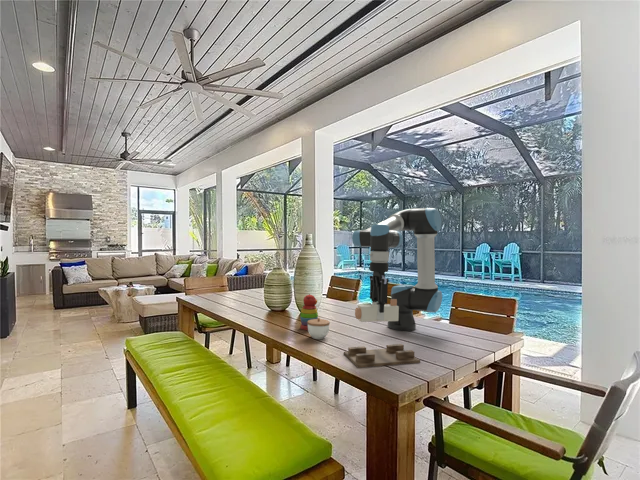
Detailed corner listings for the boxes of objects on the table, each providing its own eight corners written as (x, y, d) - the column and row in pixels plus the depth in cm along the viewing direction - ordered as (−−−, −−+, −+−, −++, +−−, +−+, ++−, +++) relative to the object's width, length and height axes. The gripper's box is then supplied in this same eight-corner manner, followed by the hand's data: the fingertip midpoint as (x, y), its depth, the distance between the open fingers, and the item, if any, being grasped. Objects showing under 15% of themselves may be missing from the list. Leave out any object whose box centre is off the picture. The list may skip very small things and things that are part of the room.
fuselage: (393, 318, 147) (394, 298, 147) (398, 321, 143) (398, 300, 143) (354, 319, 143) (355, 298, 143) (358, 322, 139) (359, 300, 139)
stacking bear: (316, 331, 180) (317, 296, 180) (297, 330, 182) (298, 295, 182) (320, 326, 191) (321, 293, 191) (302, 325, 193) (303, 292, 193)
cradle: (400, 349, 152) (400, 341, 152) (420, 362, 136) (420, 353, 136) (343, 354, 145) (343, 345, 145) (357, 367, 130) (357, 358, 130)
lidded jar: (307, 334, 175) (308, 315, 175) (329, 334, 174) (329, 316, 174) (306, 340, 164) (306, 320, 164) (329, 340, 163) (329, 320, 163)
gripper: (362, 260, 151) (361, 314, 150) (379, 263, 134) (377, 324, 133) (378, 260, 153) (377, 314, 152) (397, 263, 135) (395, 323, 135)
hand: (377, 318), depth 143 cm, fingers closed on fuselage, 4 cm apart
